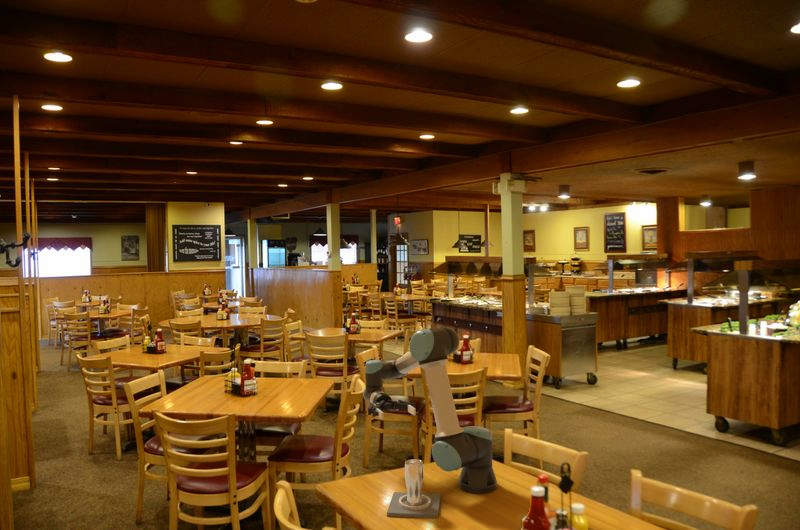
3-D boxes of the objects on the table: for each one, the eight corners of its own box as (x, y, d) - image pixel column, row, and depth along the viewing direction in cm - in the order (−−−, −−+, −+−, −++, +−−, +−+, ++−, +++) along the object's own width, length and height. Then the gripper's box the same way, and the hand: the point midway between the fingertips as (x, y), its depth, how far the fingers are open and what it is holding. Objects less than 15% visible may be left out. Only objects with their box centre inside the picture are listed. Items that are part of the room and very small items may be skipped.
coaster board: (440, 497, 223) (440, 491, 223) (437, 518, 205) (437, 512, 205) (393, 495, 225) (393, 489, 225) (386, 516, 207) (386, 509, 207)
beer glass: (422, 507, 211) (421, 466, 211) (403, 506, 213) (402, 465, 212) (425, 499, 218) (424, 459, 218) (406, 498, 219) (406, 458, 219)
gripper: (408, 407, 254) (428, 419, 234) (353, 413, 245) (368, 427, 225) (408, 389, 254) (427, 401, 234) (352, 395, 245) (368, 407, 225)
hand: (398, 414), depth 230 cm, fingers open, 13 cm apart
